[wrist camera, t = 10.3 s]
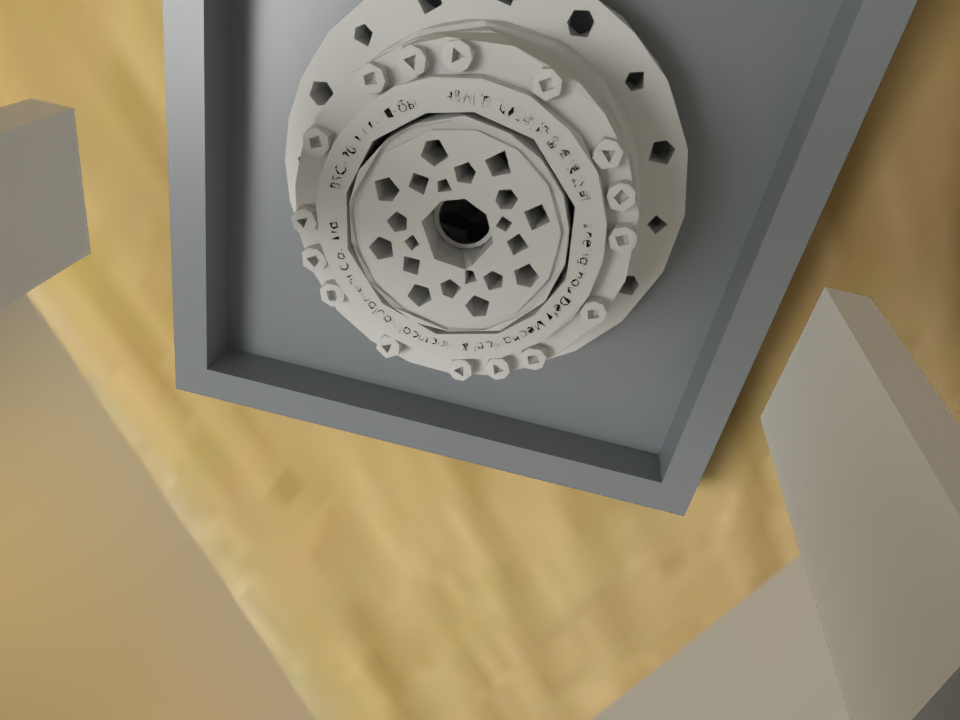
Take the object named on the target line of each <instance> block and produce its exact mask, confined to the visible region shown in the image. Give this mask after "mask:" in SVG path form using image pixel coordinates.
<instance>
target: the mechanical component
mask: <svg viewBox="0 0 960 720" xmlns="http://www.w3.org/2000/svg"><path fill="white" fill-rule="evenodd" d="M441 1H442V5H440V6H439V7H437V8H434V7H433V6H432V5H430V4H429V3H428V2H427V1H426V0H363V1H362V2H361V3H360V4H359V5H358V6H357V7H355V8H354V9H353V10H352V11H351V12H350V13H349V14H348V15H346V16H345V17H344V18H343V19H342V20H341V21H340V22H339V23H338V24H336V25H335V26H334V27H333V28H332V29H331V30H330V31H329V32H328V34H327V35H326V37H325V39H324V40H323V42H322V43H321V45H320V47H319V48H318V50H317V52H316V53H315V55H314V57H313V59H312V60H311V62H310V64H309V65H308V67H307V69H306V71H305V72H304V74H303V76H302V77H301V80H300V84H299V87H298V90H297V93H296V96H295V100H294V103H293V106H292V109H291V113H290V116H289V122H288V132H287V143H286V154H285V165H286V173H287V181H288V189H289V198H290V202H291V205H292V208H293V211H294V214H293V215H292V217H291V220H292V223H293V226H294V228H295V229H296V230H297V231H298V232H299V234H300V237H301V240H302V243H303V246H304V250H303V252H302V259H303V266H304V267H306V268H307V269H309V270H310V271H312V272H314V274H315V275H316V277H317V279H318V280H319V282H320V283H321V285H322V287H321V288H320V293H321V299H322V301H323V302H325V303H327V304H328V305H330V306H331V307H332V306H335V308H336V309H337V311H338V312H340V313H341V314H342V315H343V316H344V317H345V318H346V319H347V320H349V321H350V322H351V323H352V324H353V325H354V326H355V327H356V328H358V329H359V330H360V331H361V332H362V333H363V334H364V335H365V336H367V337H368V338H369V339H370V340H371V341H373V342H374V343H376V344H377V347H376V349H377V350H378V351H379V352H380V353H381V354H382V355H383V356H384V357H385V358H389V357H392V356H396V355H398V356H400V357H401V358H403V359H405V360H407V361H409V362H411V363H415V364H418V365H422V366H426V367H429V368H433V369H437V370H440V371H444V372H447V373H450V375H451V376H452V377H453V378H454V379H456V380H461V381H464V380H466V379H467V378H468V377H470V376H471V375H472V374H478V375H489V376H490V377H492V378H493V379H495V380H498V379H503V378H505V377H506V376H507V375H508V374H509V373H510V371H512V370H517V369H522V368H527V369H532V370H537V369H540V368H542V367H543V365H544V362H545V360H547V359H551V358H554V357H557V356H561V355H564V354H567V353H570V352H574V351H576V350H578V349H579V348H581V347H582V346H584V345H585V344H587V343H589V342H590V341H592V340H593V339H595V338H596V337H598V336H600V335H601V334H603V333H604V332H606V331H607V330H609V329H611V328H612V327H614V326H615V325H617V324H618V323H620V322H622V321H623V319H624V318H625V317H626V316H627V315H628V313H629V312H630V311H631V310H632V309H633V307H634V306H635V305H636V304H637V303H638V301H639V300H640V299H641V298H642V297H643V295H644V294H645V293H646V292H647V291H648V289H649V288H650V287H651V286H652V285H653V284H654V282H655V281H656V280H657V279H658V278H659V276H660V275H661V274H662V273H663V271H664V268H665V266H666V263H667V260H668V258H669V255H670V253H671V250H672V247H673V245H674V242H675V240H676V237H677V234H678V232H679V229H680V227H681V224H682V221H683V219H684V216H685V200H686V180H687V159H688V148H687V144H686V140H685V137H684V133H683V129H682V126H681V122H680V119H679V115H678V111H677V108H676V104H675V100H674V97H673V94H672V91H671V88H670V85H669V82H668V80H667V78H666V76H665V74H664V72H663V71H662V69H661V67H660V65H659V63H658V62H657V60H656V59H655V58H654V56H653V55H652V54H651V52H650V51H649V50H648V49H647V47H646V46H645V45H644V43H643V42H642V41H641V39H640V38H639V37H638V35H637V34H636V33H635V31H634V30H633V29H632V28H631V26H630V25H629V24H628V22H627V21H626V20H625V18H624V17H623V16H621V15H620V14H618V13H617V12H616V11H614V10H613V9H611V8H610V7H608V6H607V5H605V4H604V3H602V2H601V1H599V0H513V2H510V1H509V0H441ZM574 10H588V11H590V13H591V15H592V17H593V20H594V22H593V25H592V27H591V30H590V31H587V32H585V33H582V34H579V33H578V32H576V31H575V30H574V29H573V28H572V27H571V26H570V25H569V24H570V20H571V15H572V13H573V11H574ZM369 29H370V30H371V31H372V32H373V34H372V37H371V36H370V35H368V34H367V33H368V30H369ZM631 72H644V75H643V76H642V78H641V79H640V80H639V81H638V83H637V84H633V83H631V82H629V81H626V79H627V77H628V75H629V73H631ZM326 82H327V83H328V85H329V86H330V88H331V90H332V91H333V95H332V96H331V95H330V94H329V92H328V91H327V90H326V88H325V87H324V85H325V84H326ZM436 140H440V142H441V143H442V145H443V147H444V148H441V147H438V146H436ZM665 140H666V141H668V142H669V143H670V144H669V148H668V151H667V152H664V153H661V154H658V155H656V154H654V153H652V152H651V150H652V147H653V143H654V142H659V141H665ZM504 151H505V152H504ZM469 165H471V166H472V167H469ZM509 189H510V191H509ZM570 200H571V201H572V203H573V205H574V206H575V212H574V215H572V209H571V203H570ZM541 204H542V205H543V207H544V209H545V212H544V211H542V210H541V209H539V208H538V207H536V206H539V205H541ZM435 207H436V208H435ZM440 208H441V210H442V213H446V212H450V211H454V212H456V213H457V214H459V215H460V216H462V217H463V218H465V219H466V220H468V221H469V222H471V223H483V222H481V220H482V219H485V218H487V219H488V222H485V223H489V227H490V229H489V231H488V234H487V235H486V236H485V237H484V238H483V239H482V240H480V241H478V242H471V241H466V238H467V232H468V231H465V230H462V229H459V228H456V227H453V226H450V225H447V224H444V223H441V222H439V212H440ZM656 215H657V216H658V218H657V219H656V220H654V219H653V218H654V217H655V216H656ZM626 276H634V277H631V278H628V279H626Z"/></svg>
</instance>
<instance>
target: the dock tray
mask: <svg viewBox="0 0 960 720" xmlns="http://www.w3.org/2000/svg"><path fill="white" fill-rule="evenodd" d="M362 1H363V0H162V3H163V31H164V60H165V88H166V116H167V145H168V173H169V202H170V230H171V258H172V287H173V315H174V343H175V372H176V389H180V390H184V391H188V392H192V393H196V394H200V395H204V396H208V397H212V398H216V399H220V400H223V401H227V402H231V403H235V404H239V405H243V406H247V407H251V408H255V409H259V410H263V411H267V412H271V413H275V414H279V415H283V416H287V417H291V418H295V419H299V420H303V421H307V422H311V423H315V424H319V425H323V426H327V427H331V428H335V429H339V430H343V431H347V432H351V433H355V434H359V435H363V436H367V437H371V438H375V439H379V440H383V441H387V442H391V443H395V444H399V445H403V446H407V447H411V448H415V449H419V450H423V451H427V452H431V453H435V454H439V455H443V456H447V457H450V458H454V459H458V460H462V461H466V462H470V463H474V464H478V465H482V466H486V467H490V468H494V469H498V470H502V471H506V472H510V473H514V474H518V475H522V476H526V477H530V478H534V479H538V480H542V481H546V482H550V483H554V484H558V485H562V486H566V487H570V488H574V489H578V490H582V491H586V492H590V493H594V494H598V495H602V496H606V497H610V498H614V499H618V500H622V501H626V502H630V503H634V504H638V505H642V506H646V507H650V508H654V509H658V510H662V511H666V512H670V513H673V514H677V515H681V516H684V515H685V513H686V511H687V508H688V506H689V504H690V502H691V500H692V497H693V495H694V493H695V491H696V488H697V486H698V484H699V482H700V480H701V477H702V475H703V473H704V471H705V469H706V466H707V464H708V462H709V460H710V458H711V455H712V453H713V451H714V449H715V447H716V444H717V442H718V440H719V438H720V435H721V433H722V431H723V429H724V427H725V424H726V422H727V420H728V418H729V416H730V413H731V411H732V409H733V407H734V405H735V402H736V400H737V398H738V396H739V394H740V391H741V389H742V387H743V385H744V383H745V380H746V378H747V376H748V374H749V371H750V369H751V367H752V365H753V363H754V360H755V358H756V356H757V354H758V352H759V349H760V347H761V345H762V343H763V341H764V338H765V336H766V334H767V332H768V330H769V327H770V325H771V323H772V321H773V319H774V316H775V314H776V312H777V310H778V307H779V305H780V303H781V301H782V299H783V296H784V294H785V292H786V290H787V288H788V285H789V283H790V281H791V279H792V277H793V274H794V272H795V270H796V268H797V266H798V263H799V261H800V259H801V257H802V254H803V252H804V250H805V248H806V246H807V243H808V241H809V239H810V237H811V235H812V232H813V230H814V228H815V226H816V224H817V221H818V219H819V217H820V215H821V213H822V210H823V208H824V206H825V204H826V202H827V199H828V197H829V195H830V193H831V190H832V188H833V186H834V184H835V182H836V179H837V177H838V175H839V173H840V171H841V168H842V166H843V164H844V162H845V160H846V157H847V155H848V153H849V151H850V149H851V146H852V144H853V142H854V140H855V138H856V135H857V133H858V131H859V129H860V126H861V124H862V122H863V120H864V118H865V115H866V113H867V111H868V109H869V107H870V104H871V102H872V100H873V98H874V96H875V93H876V91H877V89H878V87H879V85H880V82H881V80H882V78H883V76H884V73H885V71H886V69H887V67H888V65H889V62H890V60H891V58H892V56H893V54H894V51H895V49H896V47H897V45H898V43H899V40H900V38H901V36H902V34H903V32H904V29H905V27H906V25H907V23H908V21H909V18H910V16H911V14H912V12H913V9H914V7H915V5H916V3H917V1H918V0H599V1H601V2H602V3H604V4H605V5H607V6H608V7H610V8H611V9H613V10H614V11H616V12H617V13H618V14H620V15H621V16H623V17H624V18H625V20H626V21H627V22H628V24H629V25H630V26H631V28H632V29H633V30H634V31H635V33H636V34H637V35H638V37H639V38H640V39H641V41H642V42H643V43H644V45H645V46H646V47H647V49H648V50H649V51H650V52H651V54H652V55H653V56H654V58H655V59H656V60H657V62H658V63H659V65H660V67H661V69H662V71H663V72H664V74H665V76H666V78H667V80H668V82H669V85H670V88H671V91H672V94H673V97H674V100H675V104H676V108H677V111H678V115H679V119H680V122H681V126H682V129H683V133H684V137H685V140H686V144H687V148H688V159H687V180H686V200H685V216H684V219H683V221H682V224H681V227H680V229H679V232H678V234H677V237H676V240H675V242H674V245H673V247H672V250H671V253H670V255H669V258H668V260H667V263H666V266H665V268H664V271H663V273H662V274H661V275H660V276H659V278H658V279H657V280H656V281H655V282H654V284H653V285H652V286H651V287H650V288H649V289H648V291H647V292H646V293H645V294H644V295H643V297H642V298H641V299H640V300H639V301H638V303H637V304H636V305H635V306H634V307H633V309H632V310H631V311H630V312H629V313H628V315H627V316H626V317H625V318H624V319H623V321H622V322H620V323H618V324H617V325H615V326H614V327H612V328H611V329H609V330H607V331H606V332H604V333H603V334H601V335H600V336H598V337H596V338H595V339H593V340H592V341H590V342H589V343H587V344H585V345H584V346H582V347H581V348H579V349H578V350H576V351H574V352H570V353H567V354H564V355H561V356H557V357H554V358H551V359H547V360H545V362H544V365H543V367H542V368H540V369H537V370H532V369H527V368H522V369H517V370H512V371H510V373H509V374H508V375H507V376H506V377H505V378H503V379H498V380H495V379H493V378H492V377H490V376H489V375H478V374H472V375H471V376H470V377H468V378H467V379H466V380H464V381H461V380H456V379H454V378H453V377H452V376H451V375H450V373H447V372H444V371H440V370H437V369H433V368H429V367H426V366H422V365H418V364H415V363H411V362H409V361H407V360H405V359H403V358H401V357H400V356H398V355H396V356H392V357H389V358H385V357H384V356H383V355H382V354H381V353H380V352H379V351H378V350H377V349H376V347H377V344H376V343H374V342H373V341H371V340H370V339H369V338H368V337H367V336H365V335H364V334H363V333H362V332H361V331H360V330H359V329H358V328H356V327H355V326H354V325H353V324H352V323H351V322H350V321H349V320H347V319H346V318H345V317H344V316H343V315H342V314H341V313H340V312H338V311H337V309H336V308H335V306H332V307H331V306H330V305H328V304H327V303H325V302H323V301H322V299H321V293H320V288H321V287H322V285H321V283H320V282H319V280H318V279H317V277H316V275H315V274H314V272H312V271H310V270H309V269H307V268H306V267H304V266H303V259H302V252H303V250H304V246H303V243H302V240H301V237H300V234H299V232H298V231H297V230H296V229H295V228H294V226H293V223H292V220H291V217H292V215H293V214H294V211H293V208H292V205H291V202H290V198H289V189H288V181H287V173H286V165H285V154H286V143H287V132H288V122H289V116H290V113H291V109H292V106H293V103H294V100H295V96H296V93H297V90H298V87H299V84H300V80H301V77H302V76H303V74H304V72H305V71H306V69H307V67H308V65H309V64H310V62H311V60H312V59H313V57H314V55H315V53H316V52H317V50H318V48H319V47H320V45H321V43H322V42H323V40H324V39H325V37H326V35H327V34H328V32H329V31H330V30H331V29H332V28H333V27H334V26H335V25H336V24H338V23H339V22H340V21H341V20H342V19H343V18H344V17H345V16H346V15H348V14H349V13H350V12H351V11H352V10H353V9H354V8H355V7H357V6H358V5H359V4H360V3H361V2H362ZM426 1H427V2H428V3H429V4H430V5H432V6H433V7H434V8H437V7H439V6H440V5H442V1H441V0H426ZM509 1H510V2H513V0H509ZM593 22H594V20H593V17H592V15H591V13H590V11H588V10H574V11H573V13H572V15H571V20H570V24H569V25H570V26H571V27H572V28H573V29H574V30H575V31H576V32H578V33H579V34H582V33H585V32H587V31H590V30H591V27H592V25H593ZM367 34H368V35H370V36H371V37H372V34H373V32H372V31H371V30H370V29H369V30H368V33H367ZM643 75H644V72H631V73H629V75H628V77H627V79H626V81H629V82H631V83H633V84H637V83H638V81H639V80H640V79H641V78H642V76H643ZM324 87H325V88H326V90H327V91H328V92H329V94H330V95H331V96H332V95H333V91H332V90H331V88H330V86H329V85H328V83H327V82H326V84H325V85H324ZM669 144H670V143H669V142H668V141H666V140H665V141H659V142H654V143H653V147H652V150H651V152H652V153H654V154H656V155H658V154H661V153H664V152H667V151H668V148H669ZM436 146H438V147H441V148H444V147H443V145H442V143H441V142H440V140H436ZM504 152H505V151H504ZM469 167H472V166H471V165H469ZM509 191H510V189H509ZM570 203H571V209H572V215H574V212H575V206H574V205H573V203H572V201H571V200H570ZM536 207H538V208H539V209H541V210H542V211H544V212H545V209H544V207H543V205H542V204H541V205H539V206H536ZM435 208H436V207H435ZM657 218H658V216H657V215H656V216H655V217H654V218H653V219H654V220H656V219H657ZM439 222H441V223H444V224H447V225H450V226H453V227H456V228H459V229H462V230H465V231H468V232H467V238H466V241H471V242H478V241H480V240H482V239H483V238H484V237H485V236H486V235H487V234H488V231H489V229H490V227H489V223H485V222H488V219H487V218H485V219H482V220H481V222H483V223H471V222H469V221H468V220H466V219H465V218H463V217H462V216H460V215H459V214H457V213H456V212H454V211H450V212H446V213H442V210H441V208H440V212H439ZM631 277H634V276H626V279H628V278H631Z"/></svg>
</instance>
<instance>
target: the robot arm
mask: <svg viewBox="0 0 960 720" xmlns="http://www.w3.org/2000/svg"><path fill="white" fill-rule="evenodd" d="M90 253H91V252H90V243H89V235H88V226H87V217H86V209H85V200H84V192H83V183H82V174H81V166H80V157H79V149H78V140H77V131H76V123H75V114H74V108H70V107H66V106H62V105H57V104H53V103H49V102H45V101H41V100H36V99H28V100H25V101H21V102H18V103H14V104H11V105H8V106H4V107H1V108H0V309H1V308H2V307H4V306H6V305H7V304H9V303H11V302H12V301H14V300H15V299H17V298H19V297H20V296H22V295H23V294H25V293H27V292H28V291H30V290H32V289H33V288H35V287H36V286H38V285H40V284H41V283H43V282H45V281H46V280H48V279H49V278H51V277H53V276H54V275H56V274H57V273H59V272H61V271H62V270H64V269H66V268H67V267H69V266H70V265H72V264H74V263H75V262H77V261H79V260H80V259H82V258H83V257H85V256H87V255H88V254H90ZM760 419H761V422H762V426H763V429H764V432H765V436H766V439H767V442H768V446H769V449H770V452H771V456H772V459H773V463H774V466H775V469H776V473H777V476H778V479H779V483H780V486H781V490H782V493H783V496H784V500H785V503H786V506H787V510H788V513H789V516H790V520H791V523H792V527H793V530H794V533H795V537H796V540H797V543H798V547H799V550H800V554H801V557H802V560H803V563H804V567H805V570H806V574H807V577H808V580H809V584H810V587H811V590H812V594H813V597H814V600H815V604H816V607H817V610H818V614H819V617H820V621H821V624H822V627H823V631H824V634H825V638H826V641H827V644H828V648H829V651H830V655H831V658H832V661H833V665H834V668H835V671H836V675H837V678H838V681H839V685H840V688H841V692H842V695H843V698H844V702H845V705H846V708H847V712H848V715H849V719H850V720H960V426H959V424H958V423H957V421H956V420H955V418H954V417H953V415H952V414H951V413H950V411H949V410H948V408H947V407H946V405H945V404H944V403H943V401H942V400H941V398H940V397H939V395H938V394H937V392H936V391H935V390H934V388H933V387H932V385H931V384H930V382H929V381H928V379H927V378H926V377H925V375H924V374H923V372H922V371H921V369H920V368H919V366H918V365H917V364H916V362H915V361H914V359H913V358H912V356H911V355H910V354H909V352H908V351H907V349H906V348H905V346H904V345H903V343H902V342H901V341H900V339H899V338H898V336H897V335H896V333H895V332H894V330H893V329H892V328H891V326H890V325H889V323H888V322H887V320H886V319H885V317H884V316H883V315H882V313H881V312H880V310H879V309H878V307H877V306H876V304H875V303H874V302H873V300H872V299H871V298H870V297H866V296H862V295H857V294H853V293H849V292H845V291H841V290H836V289H832V288H828V287H825V288H824V290H823V292H822V294H821V296H820V298H819V300H818V302H817V304H816V306H815V308H814V310H813V312H812V314H811V316H810V318H809V320H808V322H807V324H806V326H805V328H804V330H803V332H802V334H801V336H800V338H799V340H798V342H797V344H796V346H795V348H794V350H793V352H792V354H791V356H790V358H789V360H788V362H787V364H786V366H785V368H784V370H783V372H782V374H781V376H780V378H779V380H778V382H777V384H776V386H775V388H774V390H773V392H772V394H771V396H770V399H769V401H768V403H767V405H766V407H765V409H764V411H763V413H762V415H761V417H760Z"/></svg>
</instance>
